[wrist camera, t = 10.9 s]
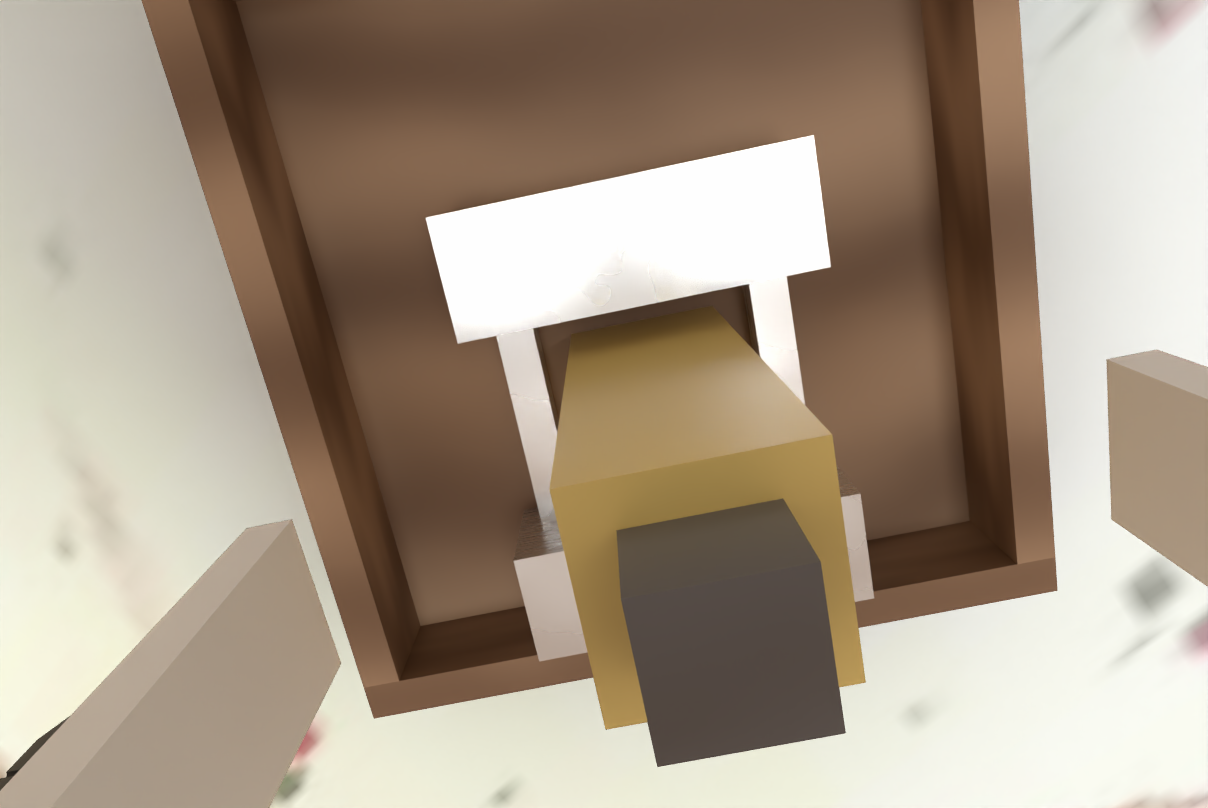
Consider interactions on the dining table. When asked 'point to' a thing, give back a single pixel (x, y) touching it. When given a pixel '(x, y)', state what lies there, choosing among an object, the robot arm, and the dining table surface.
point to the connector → (703, 540)
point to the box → (591, 153)
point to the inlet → (631, 304)
